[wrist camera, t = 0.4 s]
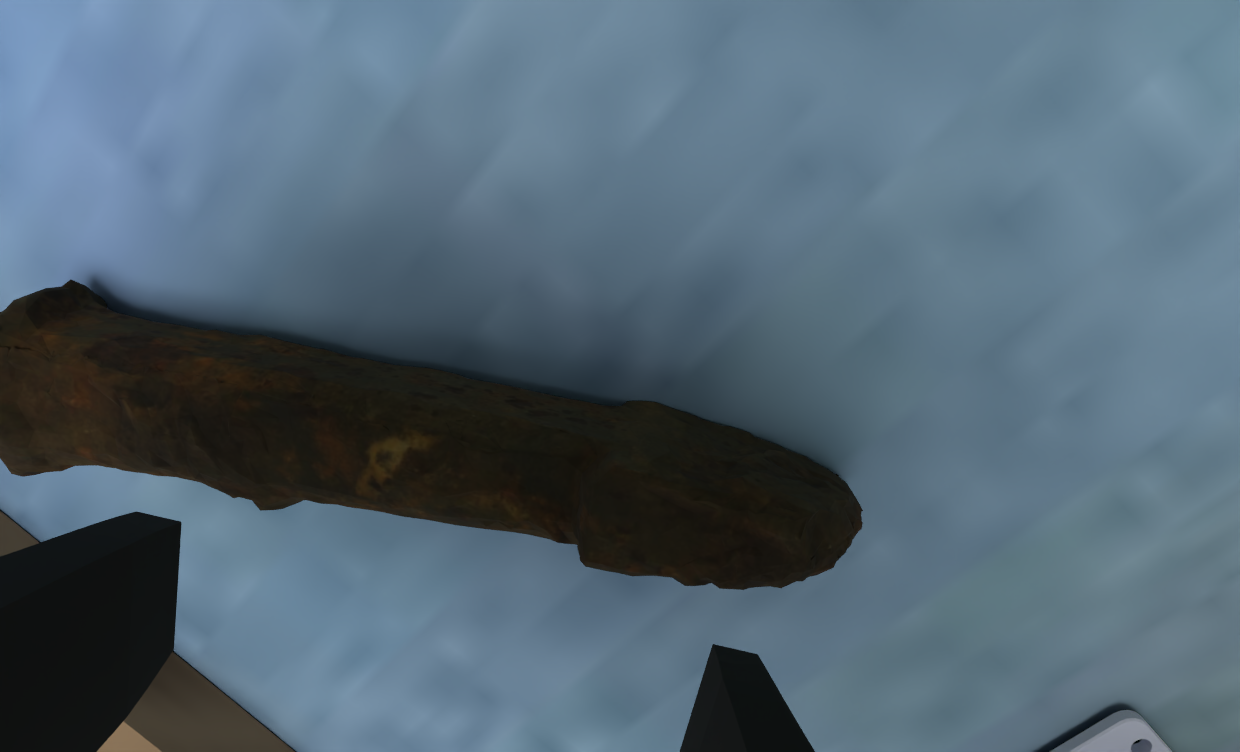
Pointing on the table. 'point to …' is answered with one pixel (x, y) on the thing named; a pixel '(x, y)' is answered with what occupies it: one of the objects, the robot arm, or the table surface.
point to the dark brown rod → (411, 445)
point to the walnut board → (174, 703)
